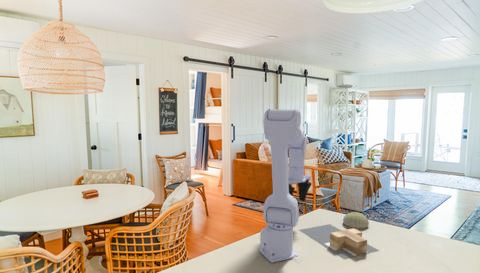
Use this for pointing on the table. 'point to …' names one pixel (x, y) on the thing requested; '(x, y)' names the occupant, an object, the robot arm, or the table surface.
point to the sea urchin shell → (355, 220)
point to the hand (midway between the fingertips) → (295, 202)
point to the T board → (323, 237)
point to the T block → (349, 241)
